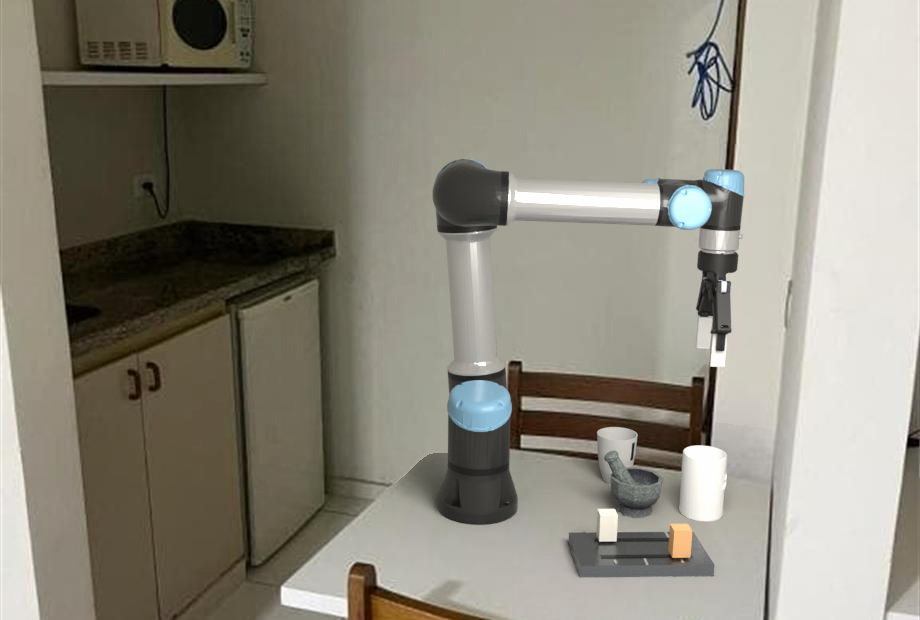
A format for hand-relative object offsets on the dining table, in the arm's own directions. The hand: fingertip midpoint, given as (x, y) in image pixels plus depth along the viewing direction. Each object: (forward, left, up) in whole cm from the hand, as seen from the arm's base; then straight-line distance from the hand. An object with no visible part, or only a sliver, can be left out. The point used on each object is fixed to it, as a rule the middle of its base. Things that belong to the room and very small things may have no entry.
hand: (709, 357), depth 182 cm
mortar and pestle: (-17, -13, -27) cm, 34 cm away
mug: (-4, -12, -27) cm, 30 cm away
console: (-20, -32, -27) cm, 46 cm away
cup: (-17, +2, -27) cm, 32 cm away
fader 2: (-14, -35, -24) cm, 45 cm away
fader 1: (-25, -29, -24) cm, 45 cm away
